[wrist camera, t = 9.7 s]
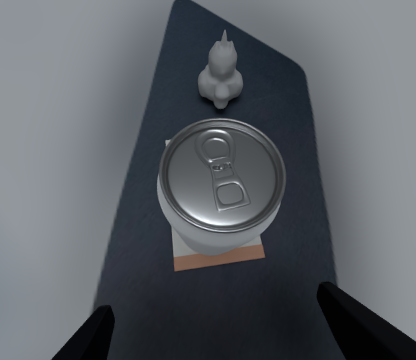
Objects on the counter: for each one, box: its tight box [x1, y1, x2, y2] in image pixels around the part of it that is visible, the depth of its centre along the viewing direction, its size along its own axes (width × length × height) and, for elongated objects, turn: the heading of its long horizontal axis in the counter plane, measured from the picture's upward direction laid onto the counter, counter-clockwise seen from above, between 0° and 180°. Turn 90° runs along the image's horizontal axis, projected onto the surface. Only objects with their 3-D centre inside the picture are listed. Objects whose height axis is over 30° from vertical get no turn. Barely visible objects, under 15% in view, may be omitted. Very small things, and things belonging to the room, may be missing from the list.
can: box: [157, 118, 286, 256], centre depth 14 cm, size 6×6×12 cm
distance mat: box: [166, 140, 265, 271], centre depth 21 cm, size 14×8×1 cm, turn 8°
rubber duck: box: [198, 30, 243, 109], centre depth 23 cm, size 5×7×8 cm
